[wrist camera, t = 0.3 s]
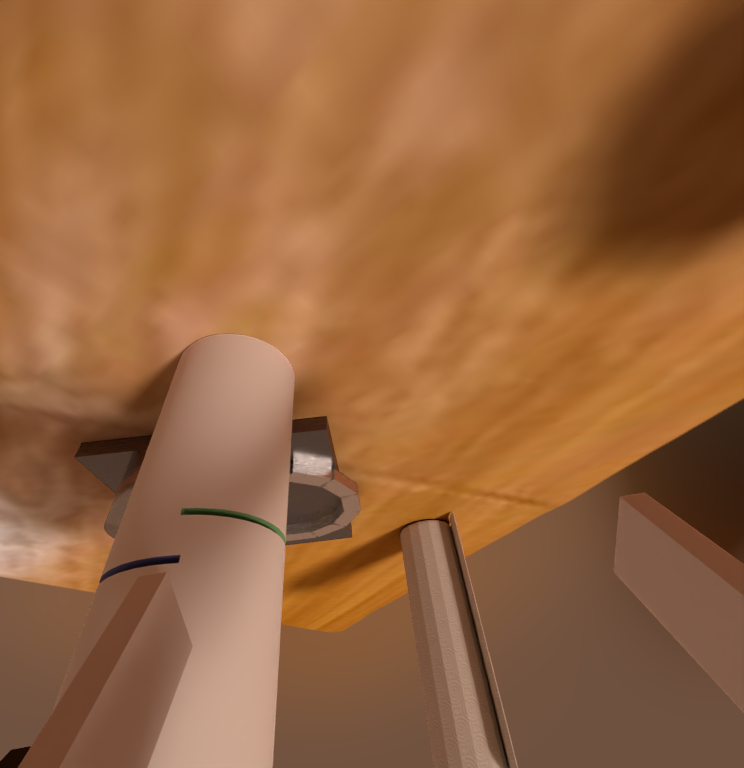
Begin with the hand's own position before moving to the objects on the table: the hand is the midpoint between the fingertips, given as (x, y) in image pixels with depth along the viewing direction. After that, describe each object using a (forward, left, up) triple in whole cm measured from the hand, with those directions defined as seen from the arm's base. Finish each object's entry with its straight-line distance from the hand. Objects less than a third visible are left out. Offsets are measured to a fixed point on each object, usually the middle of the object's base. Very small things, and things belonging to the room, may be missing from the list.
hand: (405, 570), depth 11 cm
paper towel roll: (+33, +6, -15) cm, 37 cm away
